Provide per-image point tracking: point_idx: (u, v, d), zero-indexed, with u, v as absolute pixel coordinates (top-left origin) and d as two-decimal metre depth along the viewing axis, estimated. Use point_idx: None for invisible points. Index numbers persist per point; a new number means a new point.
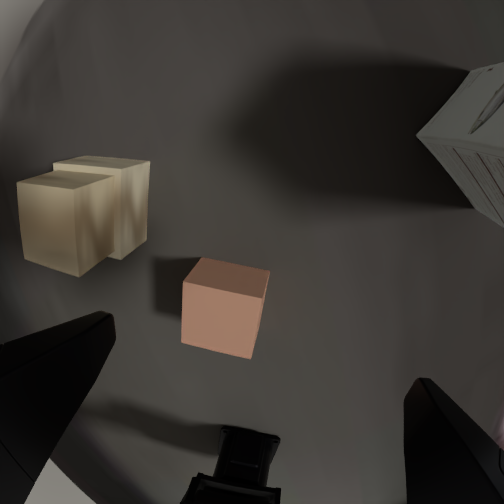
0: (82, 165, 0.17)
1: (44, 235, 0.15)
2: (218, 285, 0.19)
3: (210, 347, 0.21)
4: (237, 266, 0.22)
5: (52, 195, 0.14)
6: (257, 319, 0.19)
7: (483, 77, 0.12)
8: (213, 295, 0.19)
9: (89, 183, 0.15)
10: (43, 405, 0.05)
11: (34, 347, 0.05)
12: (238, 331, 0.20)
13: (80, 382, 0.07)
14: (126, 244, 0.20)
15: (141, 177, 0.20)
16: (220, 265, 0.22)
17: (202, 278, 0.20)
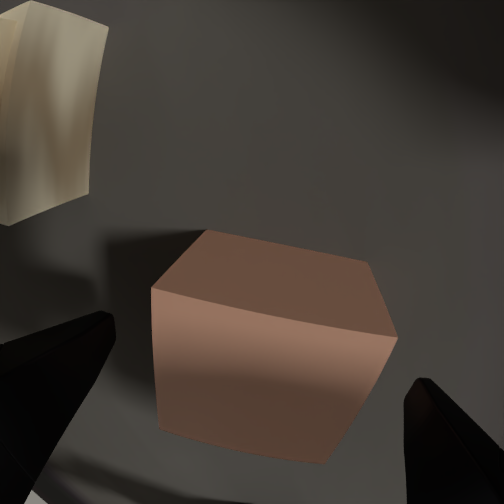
0: None
1: None
2: (260, 302, 0.06)
3: (229, 445, 0.08)
4: (294, 250, 0.09)
5: None
6: (367, 391, 0.06)
7: None
8: (247, 332, 0.06)
9: None
10: (43, 405, 0.05)
11: (34, 347, 0.05)
12: (308, 420, 0.07)
13: (80, 382, 0.07)
14: (26, 189, 0.07)
15: (82, 47, 0.07)
16: (255, 248, 0.09)
17: (211, 279, 0.07)
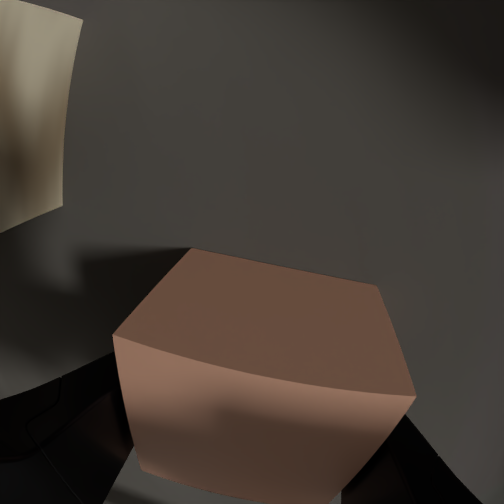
0: None
1: None
2: (247, 354, 0.05)
3: (217, 490, 0.06)
4: (293, 276, 0.08)
5: None
6: (375, 448, 0.05)
7: None
8: (230, 391, 0.05)
9: None
10: (110, 440, 0.05)
11: (101, 379, 0.05)
12: (305, 474, 0.05)
13: None
14: None
15: (50, 43, 0.05)
16: (245, 274, 0.07)
17: (187, 321, 0.05)
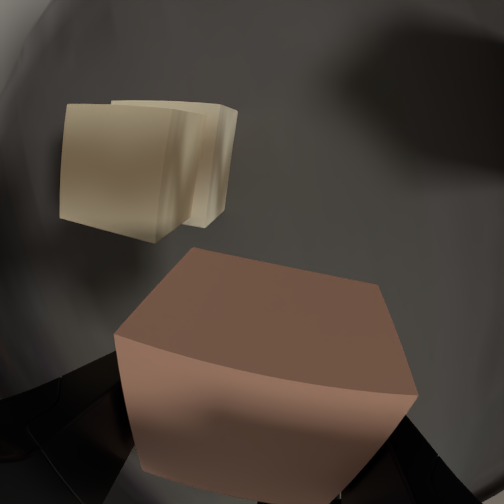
0: (157, 101, 0.13)
1: (103, 179, 0.11)
2: (249, 353, 0.05)
3: (218, 490, 0.06)
4: (294, 275, 0.08)
5: (130, 117, 0.10)
6: (376, 448, 0.05)
7: None
8: (232, 391, 0.05)
9: (185, 111, 0.11)
10: (110, 440, 0.05)
11: (101, 379, 0.05)
12: (307, 474, 0.05)
13: None
14: (211, 208, 0.16)
15: (230, 127, 0.16)
16: (246, 274, 0.07)
17: (189, 321, 0.05)
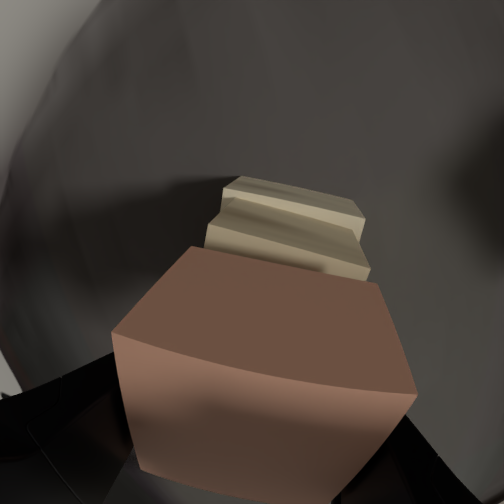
0: (289, 201, 0.13)
1: None
2: (247, 352, 0.05)
3: (217, 490, 0.06)
4: (293, 274, 0.08)
5: (315, 267, 0.09)
6: (376, 447, 0.05)
7: None
8: (230, 389, 0.05)
9: (359, 249, 0.10)
10: (110, 440, 0.05)
11: (101, 379, 0.05)
12: (306, 473, 0.05)
13: None
14: None
15: None
16: (245, 273, 0.07)
17: (187, 319, 0.05)
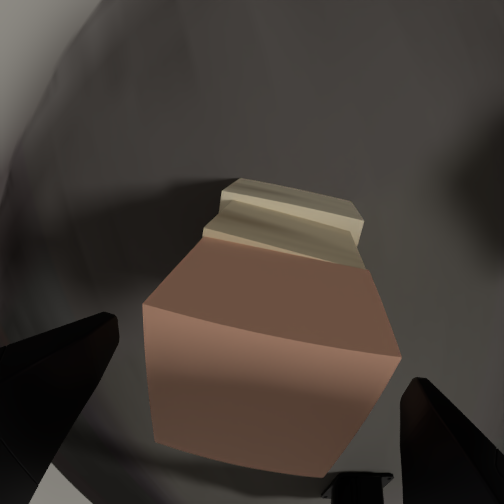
0: (288, 203, 0.13)
1: None
2: (257, 319, 0.06)
3: (226, 459, 0.07)
4: (294, 260, 0.09)
5: None
6: (368, 409, 0.06)
7: None
8: (243, 351, 0.06)
9: (356, 252, 0.10)
10: (47, 407, 0.05)
11: (38, 349, 0.05)
12: (307, 436, 0.06)
13: (84, 384, 0.07)
14: None
15: None
16: (253, 258, 0.08)
17: (206, 293, 0.06)
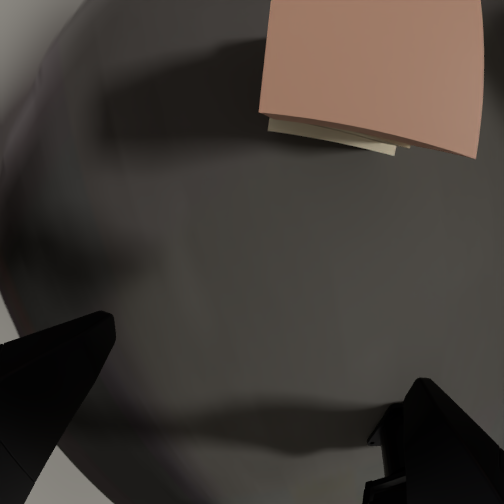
0: None
1: None
2: None
3: (363, 117, 0.06)
4: None
5: None
6: (480, 26, 0.04)
7: None
8: None
9: None
10: (43, 405, 0.05)
11: (34, 347, 0.05)
12: (445, 56, 0.05)
13: (80, 382, 0.07)
14: None
15: None
16: None
17: None
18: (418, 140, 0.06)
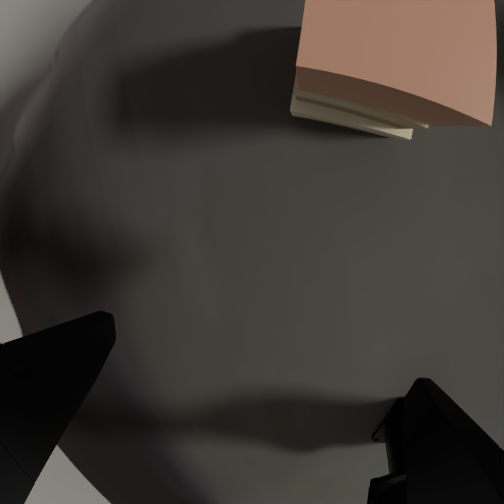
0: None
1: None
2: None
3: (391, 77, 0.06)
4: None
5: None
6: (493, 12, 0.04)
7: None
8: None
9: None
10: (43, 405, 0.05)
11: (34, 347, 0.05)
12: (462, 34, 0.05)
13: (80, 382, 0.07)
14: None
15: None
16: None
17: None
18: (440, 103, 0.06)
